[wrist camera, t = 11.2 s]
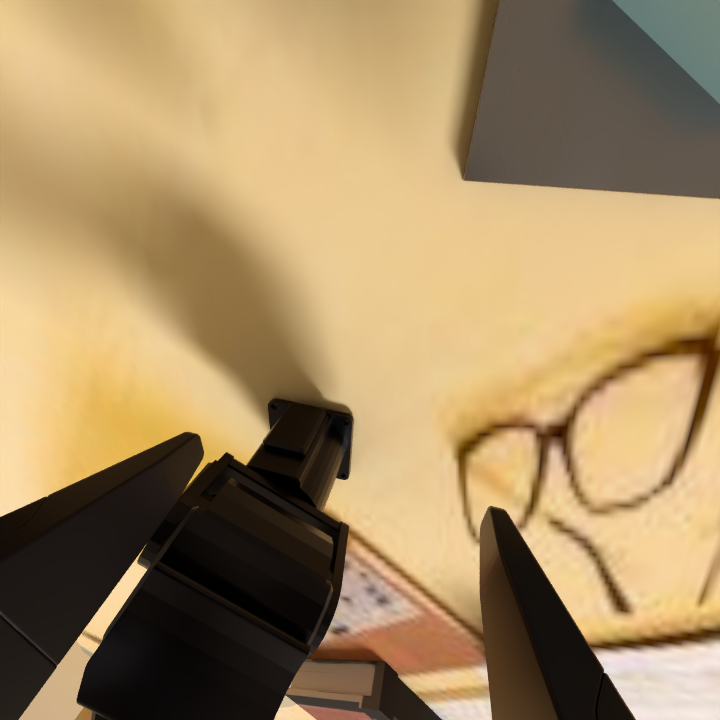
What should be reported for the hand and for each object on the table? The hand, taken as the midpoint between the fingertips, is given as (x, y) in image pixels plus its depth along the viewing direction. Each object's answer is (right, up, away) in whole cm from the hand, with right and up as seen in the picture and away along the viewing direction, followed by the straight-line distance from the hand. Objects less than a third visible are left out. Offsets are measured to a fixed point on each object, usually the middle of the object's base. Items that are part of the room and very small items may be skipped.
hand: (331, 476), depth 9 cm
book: (+5, -50, +41) cm, 65 cm away
